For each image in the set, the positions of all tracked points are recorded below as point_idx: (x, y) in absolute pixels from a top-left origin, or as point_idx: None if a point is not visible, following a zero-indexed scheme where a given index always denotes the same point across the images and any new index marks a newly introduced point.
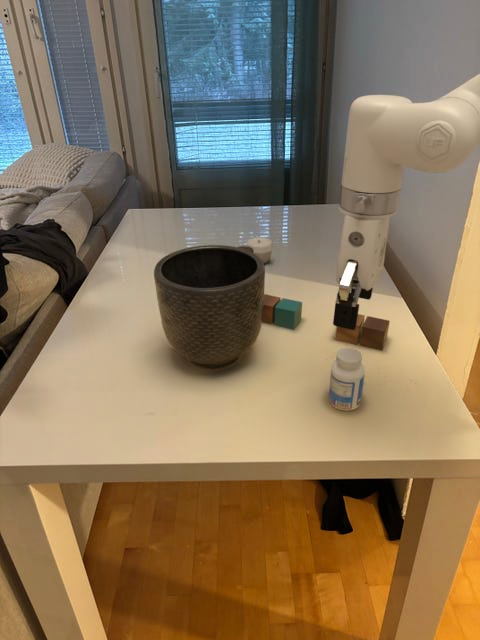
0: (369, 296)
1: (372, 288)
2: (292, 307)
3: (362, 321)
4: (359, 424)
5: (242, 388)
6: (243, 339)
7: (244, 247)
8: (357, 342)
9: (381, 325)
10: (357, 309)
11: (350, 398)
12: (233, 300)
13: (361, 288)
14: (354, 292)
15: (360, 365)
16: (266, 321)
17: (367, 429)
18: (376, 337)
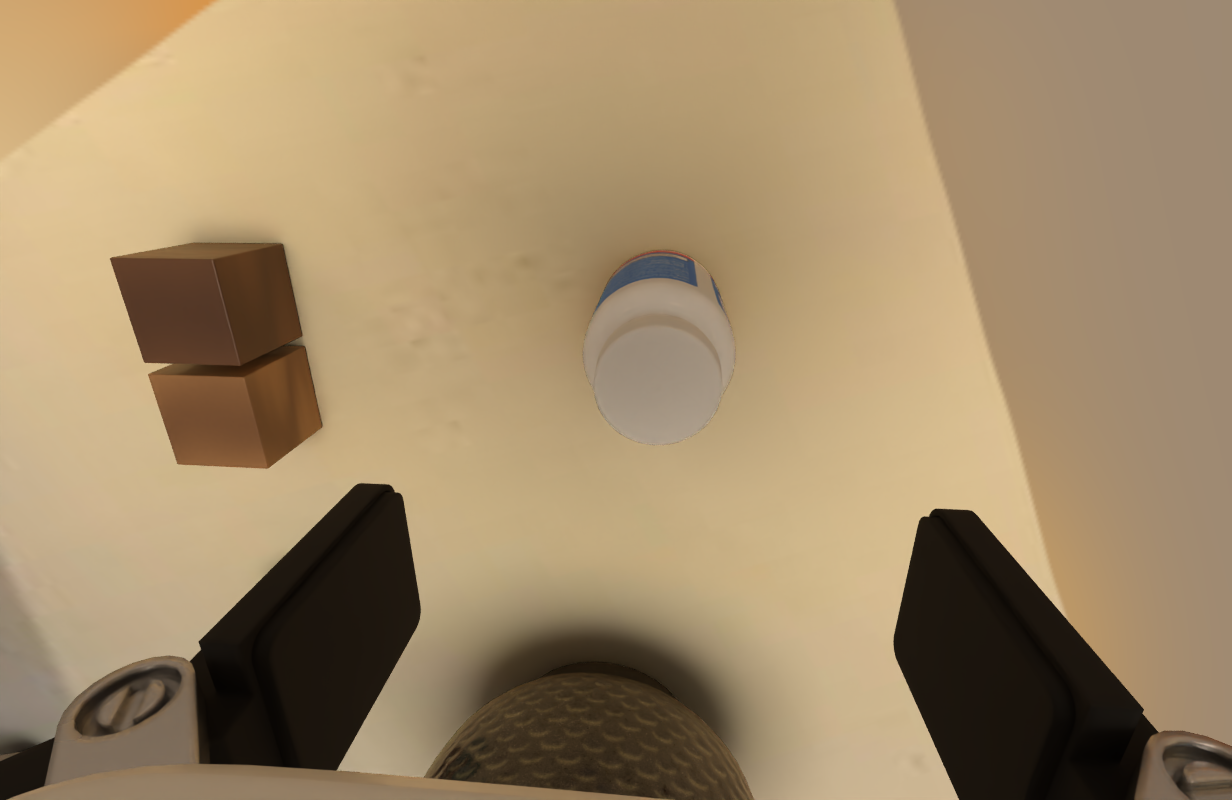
0: (386, 506)
1: (314, 537)
2: None
3: (194, 371)
4: (767, 225)
5: (729, 609)
6: (668, 754)
7: None
8: (295, 348)
9: (175, 286)
10: (1102, 669)
11: (718, 293)
12: None
13: (370, 618)
14: (402, 624)
15: (638, 312)
16: None
17: (784, 190)
18: (251, 286)
